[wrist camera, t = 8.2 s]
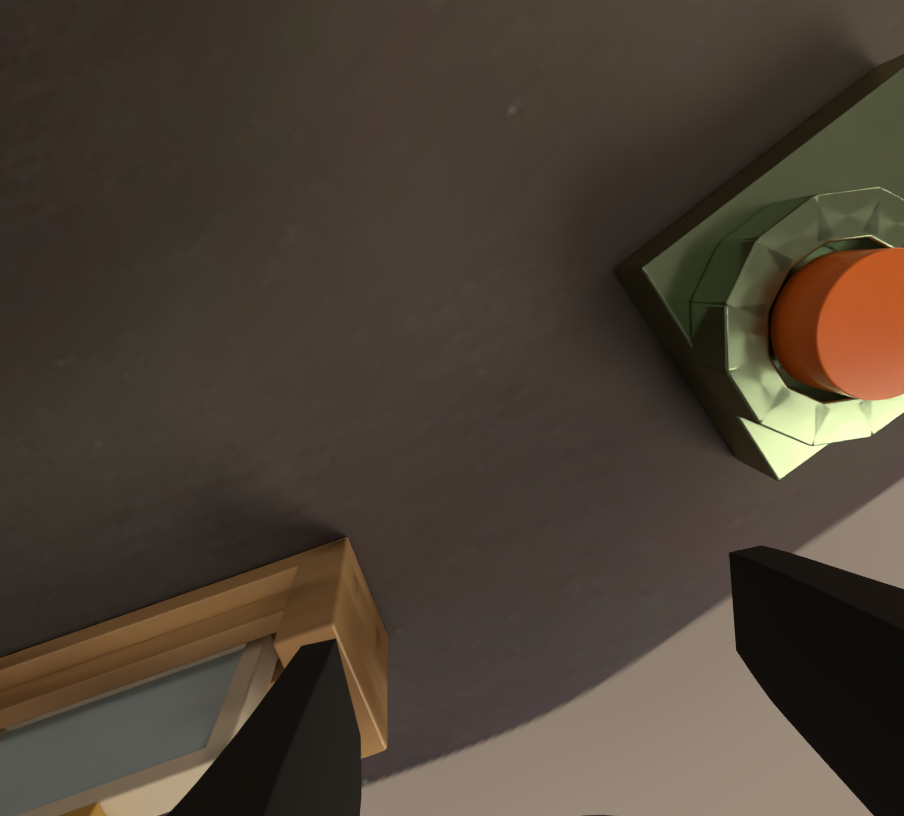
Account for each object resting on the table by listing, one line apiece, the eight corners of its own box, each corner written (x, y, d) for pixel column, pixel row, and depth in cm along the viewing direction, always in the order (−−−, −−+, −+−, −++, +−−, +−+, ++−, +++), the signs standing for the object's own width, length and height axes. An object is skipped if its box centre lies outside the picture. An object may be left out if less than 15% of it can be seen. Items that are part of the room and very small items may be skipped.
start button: (860, 221, 15) (920, 214, 13) (918, 333, 16) (982, 340, 14) (745, 308, 15) (789, 311, 14) (809, 414, 16) (858, 430, 14)
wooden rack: (388, 637, 20) (388, 750, 15) (-238, 859, 20) (-444, 1050, 15) (347, 535, 19) (333, 623, 14) (-312, 766, 19) (-559, 937, 14)
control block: (878, 64, 18) (1015, 4, 14) (982, 279, 20) (1128, 280, 16) (605, 274, 18) (663, 273, 14) (731, 465, 20) (813, 510, 16)
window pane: (281, 654, 19) (201, 927, 11) (4, 752, 18) (-283, 1104, 10) (268, 628, 18) (178, 886, 10) (-12, 726, 18) (-317, 1067, 10)
